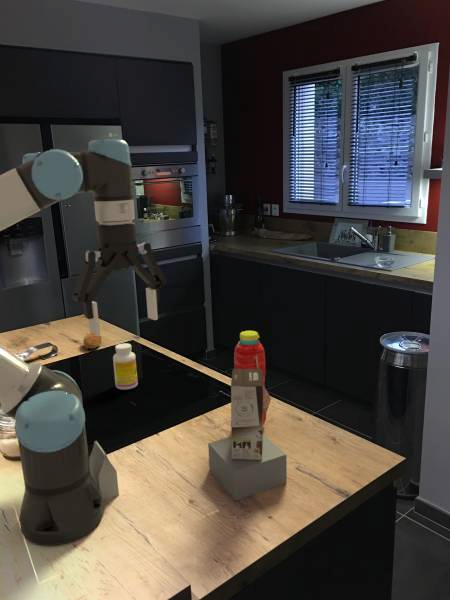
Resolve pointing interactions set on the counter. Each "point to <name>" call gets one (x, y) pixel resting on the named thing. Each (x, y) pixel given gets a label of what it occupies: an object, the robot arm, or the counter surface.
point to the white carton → (103, 473)
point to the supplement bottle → (125, 367)
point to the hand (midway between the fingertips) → (125, 325)
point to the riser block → (247, 468)
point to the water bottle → (252, 360)
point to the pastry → (92, 340)
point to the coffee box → (247, 414)
